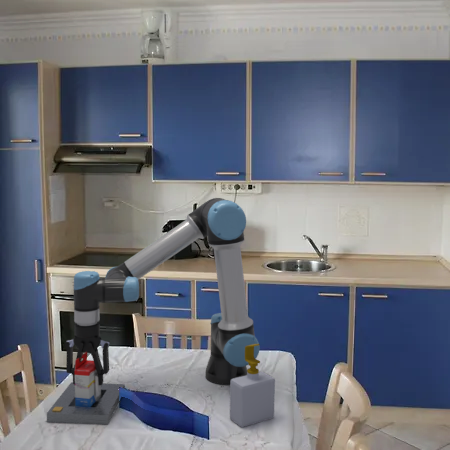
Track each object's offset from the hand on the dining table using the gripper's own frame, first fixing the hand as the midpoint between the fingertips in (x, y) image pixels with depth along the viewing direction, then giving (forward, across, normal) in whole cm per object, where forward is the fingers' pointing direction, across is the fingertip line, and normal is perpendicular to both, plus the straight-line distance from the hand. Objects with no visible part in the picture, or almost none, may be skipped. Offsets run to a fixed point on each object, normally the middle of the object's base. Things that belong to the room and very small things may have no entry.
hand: (88, 394), depth 170 cm
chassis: (+4, 0, 0) cm, 4 cm away
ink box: (+2, 0, 0) cm, 3 cm away
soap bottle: (+4, -51, +4) cm, 51 cm away
